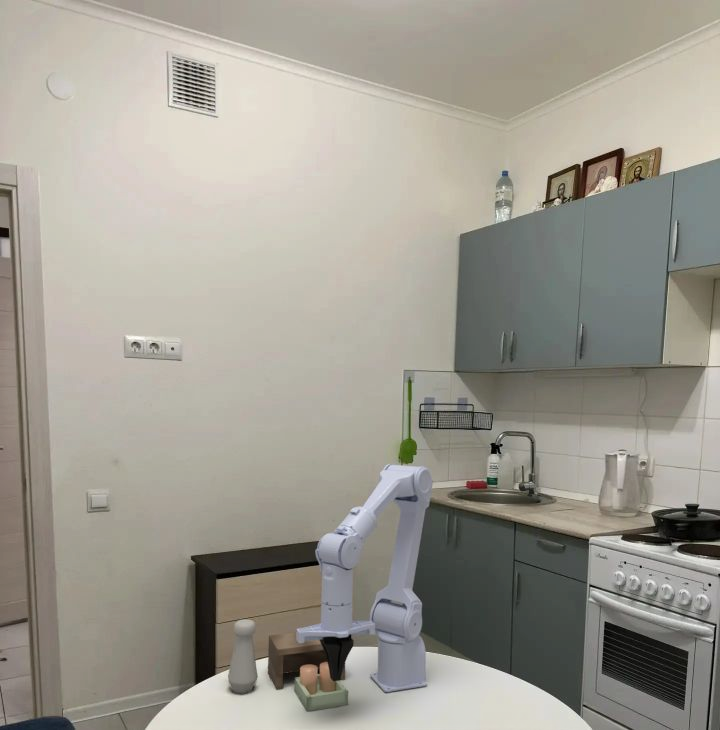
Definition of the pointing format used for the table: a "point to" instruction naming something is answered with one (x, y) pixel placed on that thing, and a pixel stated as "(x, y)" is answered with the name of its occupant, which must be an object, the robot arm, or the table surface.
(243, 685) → the salt shaker
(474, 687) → the table surface
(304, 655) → the shelf
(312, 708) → the tray
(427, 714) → the table surface
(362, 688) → the table surface
